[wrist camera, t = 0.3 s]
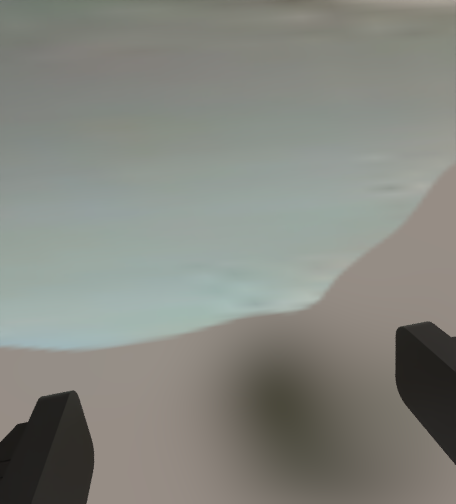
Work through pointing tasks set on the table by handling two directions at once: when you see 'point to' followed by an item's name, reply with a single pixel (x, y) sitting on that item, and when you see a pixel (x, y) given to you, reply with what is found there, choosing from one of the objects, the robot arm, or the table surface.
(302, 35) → the table surface
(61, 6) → the table surface
